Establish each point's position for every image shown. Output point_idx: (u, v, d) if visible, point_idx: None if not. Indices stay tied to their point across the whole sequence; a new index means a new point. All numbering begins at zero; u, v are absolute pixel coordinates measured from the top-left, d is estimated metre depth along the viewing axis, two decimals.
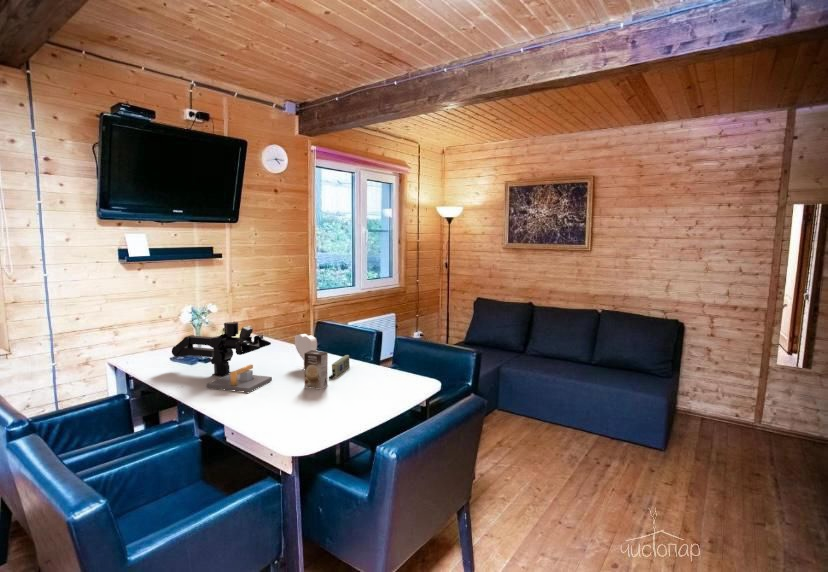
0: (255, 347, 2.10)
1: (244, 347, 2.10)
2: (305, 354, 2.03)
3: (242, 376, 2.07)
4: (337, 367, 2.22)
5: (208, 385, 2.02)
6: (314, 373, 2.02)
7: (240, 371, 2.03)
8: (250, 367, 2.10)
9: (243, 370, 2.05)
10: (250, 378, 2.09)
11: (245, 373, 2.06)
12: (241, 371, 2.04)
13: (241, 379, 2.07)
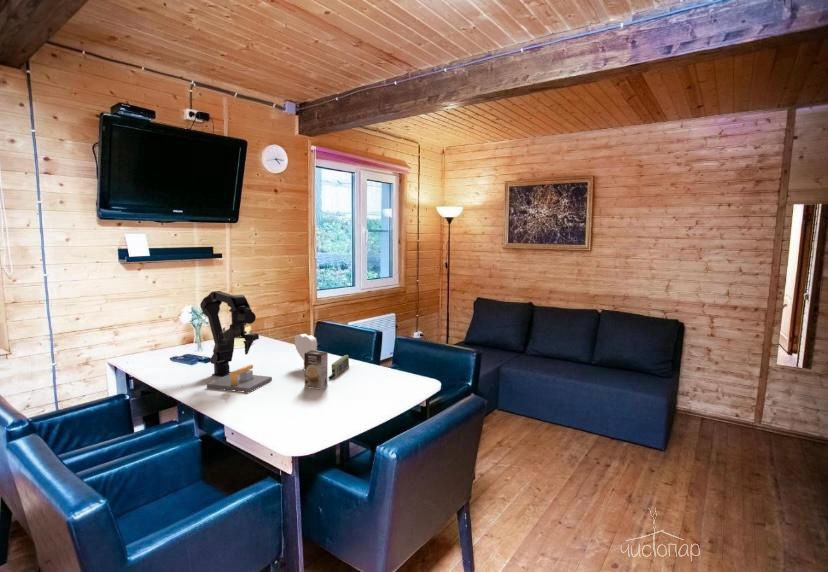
0: None
1: None
2: (305, 354, 2.03)
3: (241, 376, 2.07)
4: (337, 367, 2.22)
5: (208, 385, 2.02)
6: (314, 373, 2.02)
7: (240, 371, 2.03)
8: (250, 367, 2.10)
9: (243, 370, 2.05)
10: (250, 378, 2.09)
11: (245, 373, 2.06)
12: (241, 371, 2.04)
13: (241, 379, 2.07)
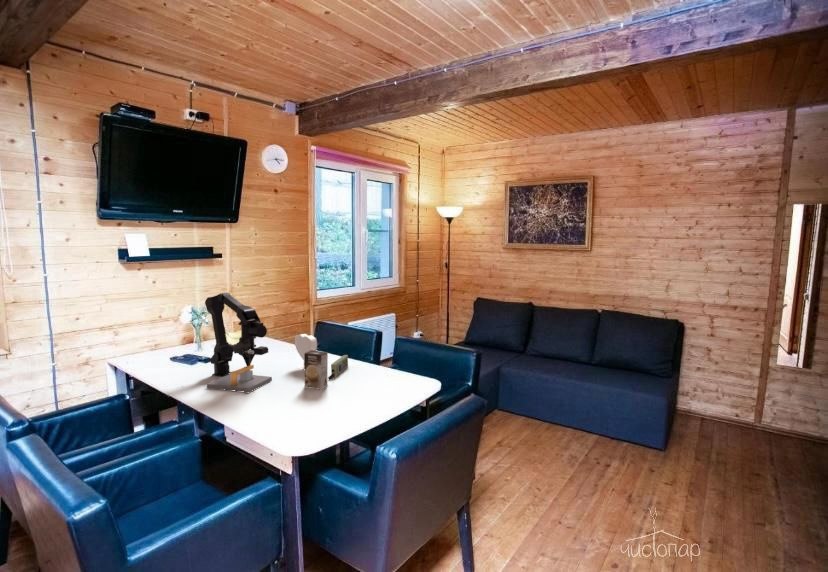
0: None
1: None
2: (305, 354, 2.03)
3: (242, 376, 2.07)
4: (336, 367, 2.22)
5: (208, 385, 2.02)
6: (314, 373, 2.02)
7: (240, 371, 2.03)
8: (251, 367, 2.10)
9: (243, 370, 2.05)
10: (250, 378, 2.09)
11: (245, 373, 2.06)
12: (241, 371, 2.04)
13: (241, 379, 2.07)
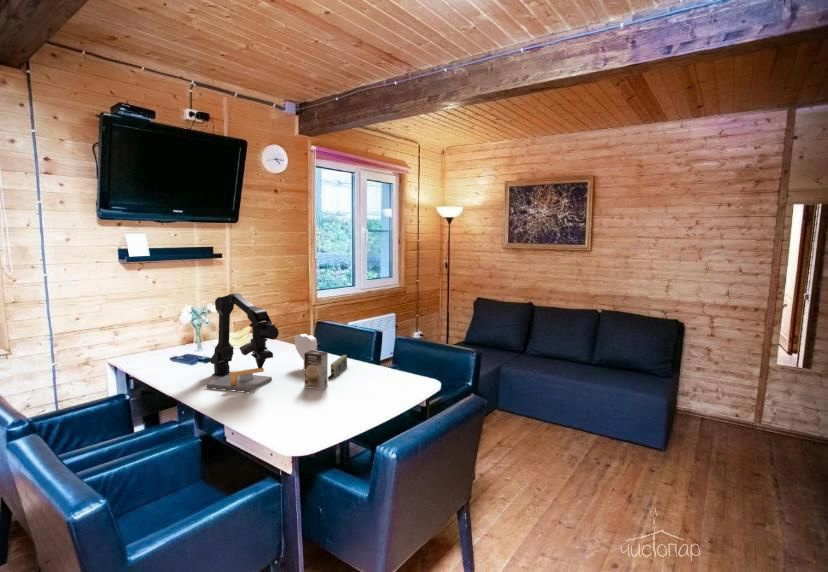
0: None
1: None
2: (305, 354, 2.03)
3: (241, 376, 2.07)
4: (336, 367, 2.22)
5: (208, 385, 2.02)
6: (314, 373, 2.02)
7: (242, 372, 2.01)
8: (259, 370, 2.05)
9: (247, 372, 2.02)
10: (250, 378, 2.09)
11: None
12: (244, 372, 2.02)
13: (241, 379, 2.07)
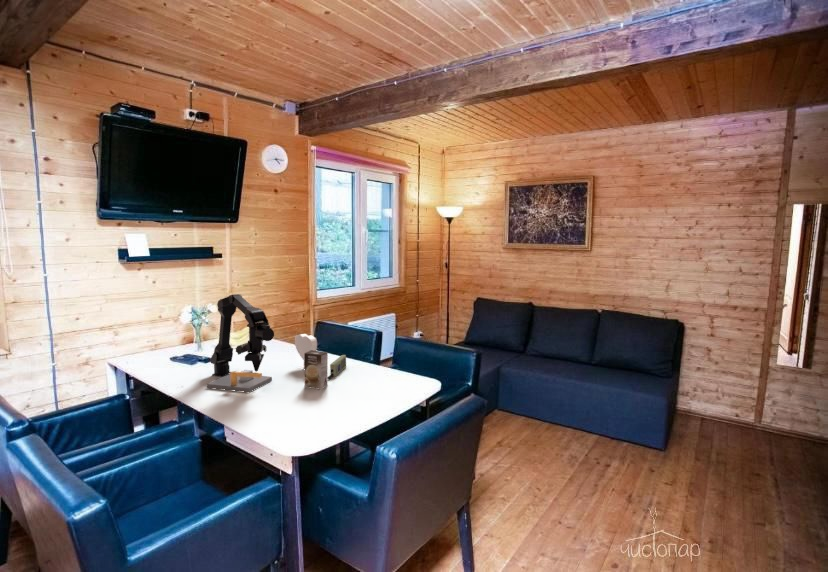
0: None
1: None
2: (305, 354, 2.03)
3: None
4: (335, 367, 2.22)
5: (208, 385, 2.02)
6: (314, 373, 2.02)
7: (240, 374, 1.98)
8: (256, 375, 1.97)
9: (245, 375, 1.98)
10: (250, 378, 2.09)
11: None
12: (241, 375, 1.98)
13: (241, 379, 2.07)
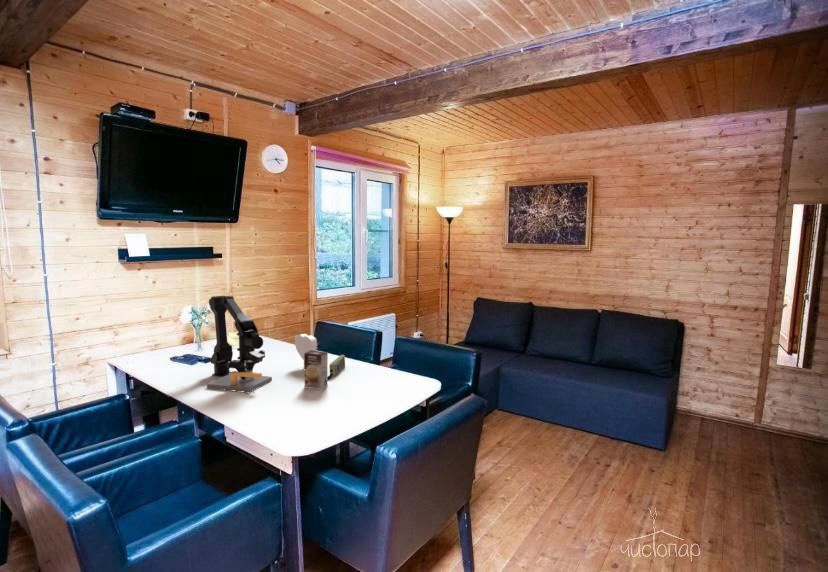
0: None
1: None
2: (305, 354, 2.03)
3: None
4: (335, 367, 2.22)
5: (208, 385, 2.02)
6: (314, 373, 2.02)
7: (240, 374, 1.98)
8: (256, 375, 1.97)
9: (245, 375, 1.98)
10: (250, 378, 2.09)
11: None
12: (241, 375, 1.98)
13: (241, 379, 2.07)
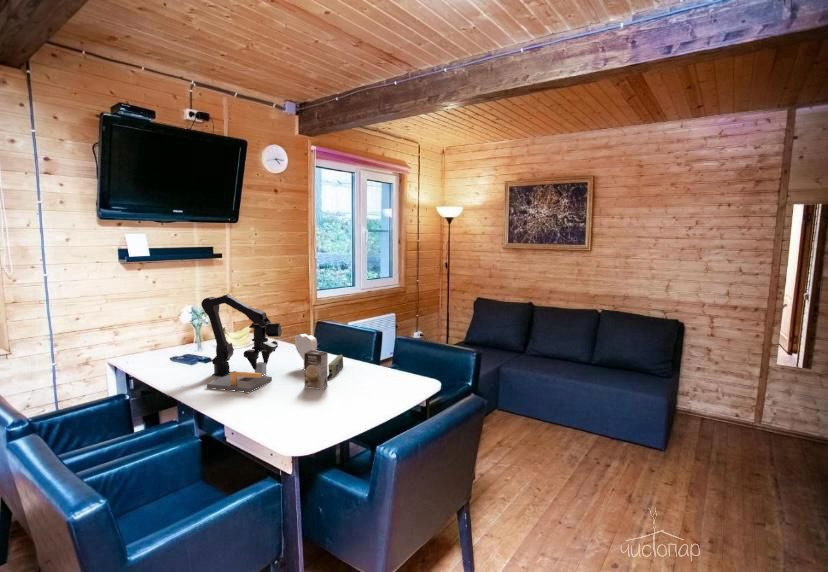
0: (254, 366, 2.17)
1: None
2: (305, 354, 2.03)
3: (256, 367, 2.21)
4: (334, 367, 2.22)
5: (208, 385, 2.02)
6: (314, 373, 2.02)
7: (240, 374, 1.98)
8: (256, 375, 1.97)
9: (245, 375, 1.98)
10: (264, 370, 2.23)
11: (259, 365, 2.20)
12: (241, 375, 1.98)
13: (256, 371, 2.21)
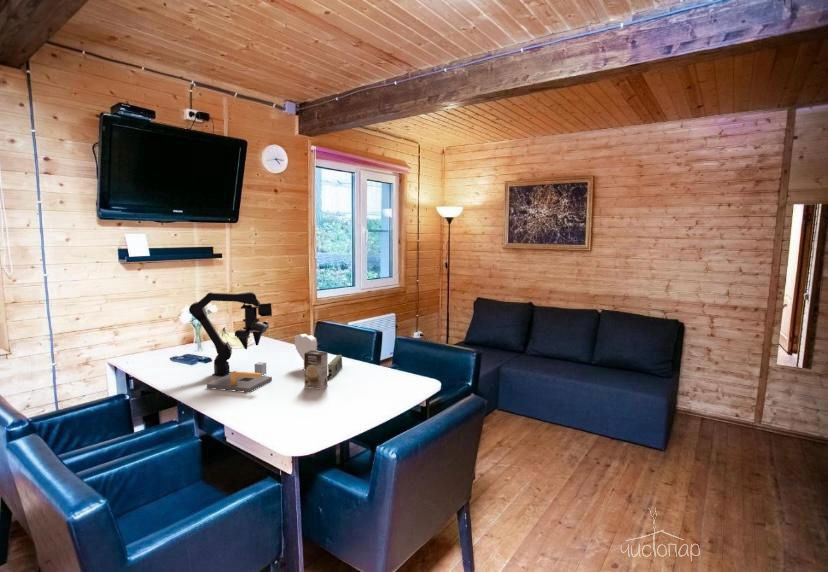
0: (245, 346, 2.21)
1: None
2: (305, 354, 2.03)
3: (256, 367, 2.21)
4: (333, 367, 2.22)
5: (208, 385, 2.02)
6: (314, 373, 2.02)
7: (240, 374, 1.98)
8: (256, 375, 1.97)
9: (245, 375, 1.98)
10: (264, 370, 2.23)
11: (259, 365, 2.20)
12: (241, 375, 1.98)
13: (255, 371, 2.21)
